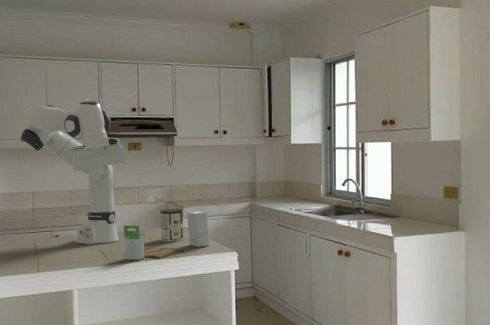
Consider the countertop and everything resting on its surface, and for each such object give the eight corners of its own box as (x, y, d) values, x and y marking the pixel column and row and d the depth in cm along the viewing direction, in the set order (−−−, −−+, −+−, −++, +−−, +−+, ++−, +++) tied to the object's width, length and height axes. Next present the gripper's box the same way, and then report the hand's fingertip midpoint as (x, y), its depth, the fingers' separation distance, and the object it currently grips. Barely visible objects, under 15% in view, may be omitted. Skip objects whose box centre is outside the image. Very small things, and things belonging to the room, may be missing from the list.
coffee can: (171, 237, 257) (170, 208, 257) (187, 238, 252) (186, 209, 251) (156, 240, 248) (155, 210, 248) (173, 242, 243) (172, 211, 242)
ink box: (145, 258, 209) (144, 224, 209) (140, 260, 205) (138, 225, 205) (129, 257, 211) (128, 224, 211) (124, 259, 207) (123, 225, 207)
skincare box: (209, 245, 232) (208, 212, 231) (196, 247, 228) (195, 213, 228) (199, 243, 239) (198, 210, 238) (187, 245, 235) (186, 211, 235)
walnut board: (124, 255, 216) (124, 253, 216) (149, 248, 230) (149, 246, 230) (159, 258, 208) (159, 256, 208) (183, 251, 222) (183, 249, 221)
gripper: (68, 147, 197) (75, 184, 198) (123, 138, 203) (130, 174, 204) (68, 147, 203) (74, 183, 204) (121, 138, 209) (128, 173, 210)
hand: (103, 178), depth 204 cm, fingers closed
